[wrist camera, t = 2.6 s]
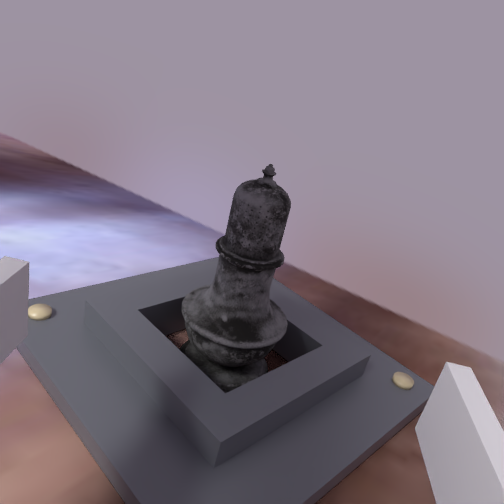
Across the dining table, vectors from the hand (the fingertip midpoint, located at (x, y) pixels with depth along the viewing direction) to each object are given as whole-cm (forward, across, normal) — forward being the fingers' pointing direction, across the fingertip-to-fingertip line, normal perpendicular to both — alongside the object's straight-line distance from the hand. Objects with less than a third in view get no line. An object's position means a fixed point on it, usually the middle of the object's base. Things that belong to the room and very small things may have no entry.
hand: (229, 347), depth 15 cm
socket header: (+10, 0, -8) cm, 13 cm away
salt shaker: (+10, 0, -9) cm, 13 cm away
